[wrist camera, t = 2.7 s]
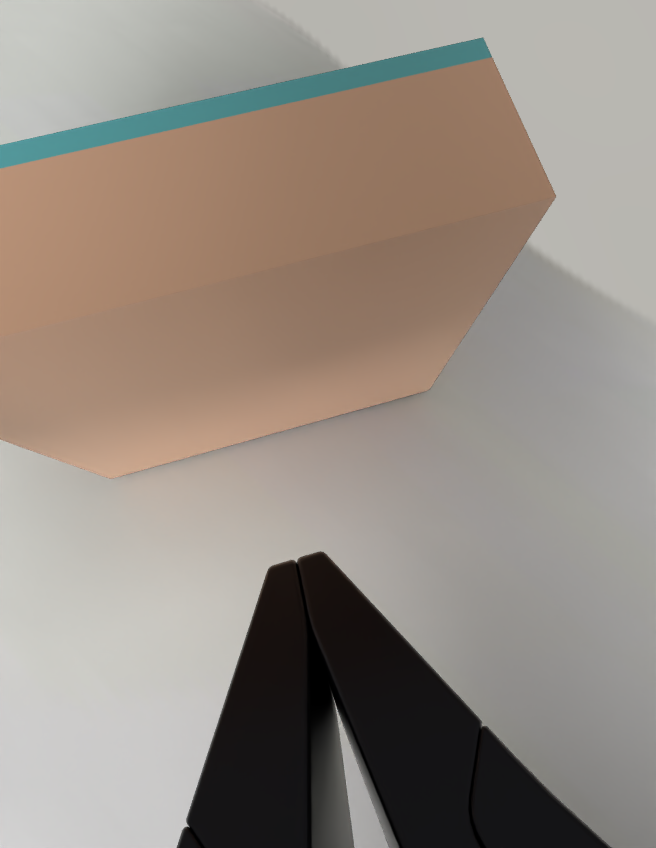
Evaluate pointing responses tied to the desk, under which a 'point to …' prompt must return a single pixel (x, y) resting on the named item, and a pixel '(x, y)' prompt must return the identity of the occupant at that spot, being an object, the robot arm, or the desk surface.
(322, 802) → the robot arm
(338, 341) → the tile
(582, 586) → the desk surface
